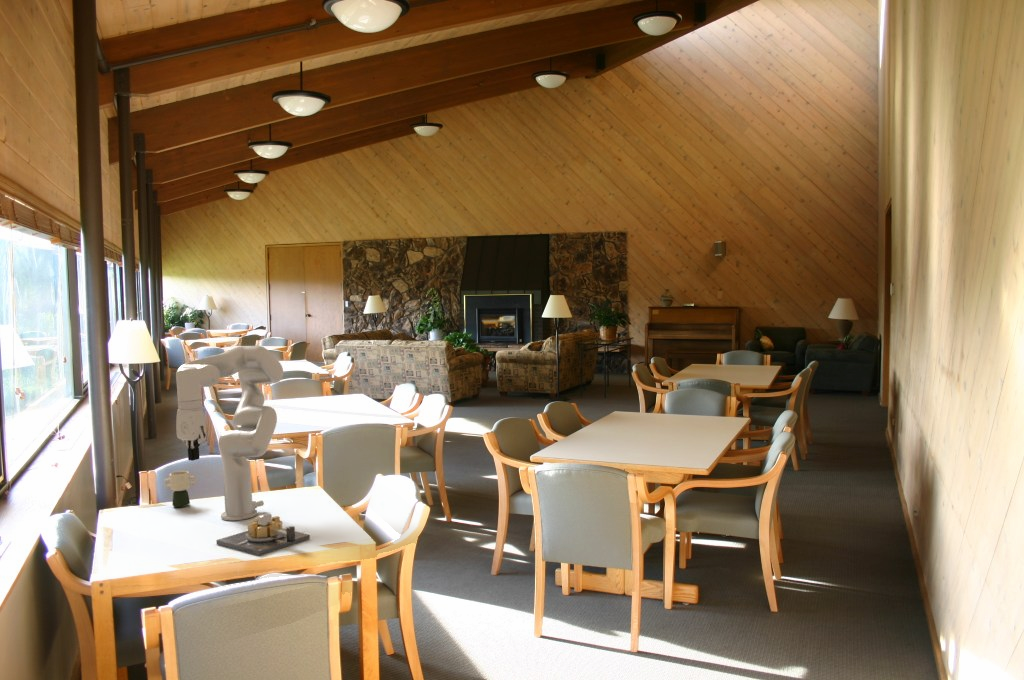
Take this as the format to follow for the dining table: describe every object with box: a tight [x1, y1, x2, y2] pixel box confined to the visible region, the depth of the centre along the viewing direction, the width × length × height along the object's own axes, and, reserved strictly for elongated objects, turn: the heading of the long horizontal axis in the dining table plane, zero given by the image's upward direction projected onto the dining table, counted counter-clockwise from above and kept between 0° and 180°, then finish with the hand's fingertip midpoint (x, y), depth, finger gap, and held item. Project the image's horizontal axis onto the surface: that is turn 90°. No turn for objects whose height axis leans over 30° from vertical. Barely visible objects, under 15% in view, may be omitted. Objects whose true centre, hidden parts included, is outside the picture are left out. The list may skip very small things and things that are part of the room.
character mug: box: [164, 470, 196, 508], centre depth 329 cm, size 11×7×13 cm, turn 106°
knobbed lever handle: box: [247, 515, 296, 542], centre depth 277 cm, size 20×10×4 cm, turn 50°
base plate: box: [215, 513, 311, 557], centre depth 280 cm, size 20×22×8 cm
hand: (194, 459), depth 286 cm, fingers closed
